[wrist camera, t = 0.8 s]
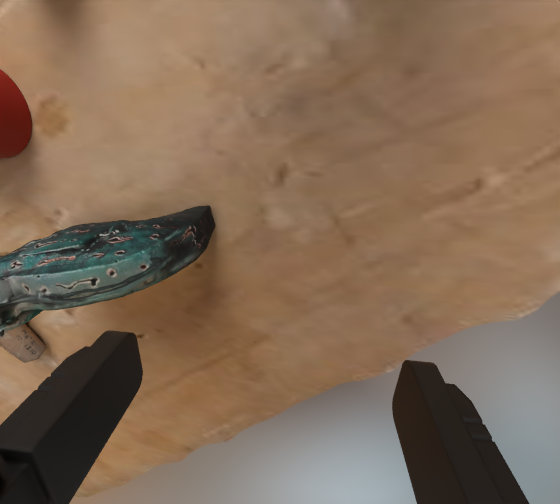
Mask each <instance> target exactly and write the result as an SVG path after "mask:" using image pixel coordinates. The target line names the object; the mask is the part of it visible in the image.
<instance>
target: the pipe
mask: <svg viewBox="0 0 560 504" xmlns="http://www.w3.org/2000/svg"><path fill="white" fill-rule="evenodd" d="M0 257H2V256H0ZM0 346H2V347H3V348H4V349H5V350H7V351H8V352H9V353H11V354H12V355H14V356H15V357H17V358H18V359H20V360H21V361H23V362H24V363H25V362H29V361H33V360H36V359H38V358H39V357H40V356H41V355H42V353H43V352H44V351H45V349H46V347H45V345H44V343H43V342H41V340H40V339H39V338H38V337H37V336H36V334H35V333H34V332H33V331H32V330H31V329H30V328H29V327H28V326H27V325H26V324H23V325H21V326H18V327H16V328H13V329H11V330H8V331H5V332H4V335H3V337H2V338H1V337H0Z"/></svg>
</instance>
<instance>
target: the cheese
mask: <svg viewBox="0 0 560 504" xmlns="http://www.w3.org/2000/svg"><path fill="white" fill-rule="evenodd" d="M31 129H32V124H31V116H30V112H29V109H28V106H27V103H26V101H25V99H24V97H23V95H22V93H21V92H20V90H19V89H18V87H17V86H16V84H15V83H14V82H13V81H12V80H11V79H10V78H9V76H8V75H6V74H5V73H4V72H3V71H2V70H0V159H2V158H9V157H13V156H15V155H17V154H19V153H20V152H22V151H23V150H24V148H25V147H26V146H27V144H28V142H29V140H30V136H31Z"/></svg>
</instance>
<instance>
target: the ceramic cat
mask: <svg viewBox="0 0 560 504" xmlns="http://www.w3.org/2000/svg"><path fill="white" fill-rule="evenodd" d="M214 229H215V222H214V219H213V216H212V213H211V208H210V206H198V207H194V208H191V209H187V210H184V211H182V212H178V213H174V214H171V215H167V216H163V217H159V218H152V219H148V220H140V221H126V220H119V221H112V222H103V223H91V224H81V225H76V226H72V227H69V228H66V229H64V230H60V231H57V232H55V233H54V234H52V235H51V236H49V237H46V238H43V239H39V240H33V241H30V242H29V243H27V244H25V245H24V246H22V247H20V248H19V249H17V250H15V251H13V252H11V253H9V254H7V255H5V256H3V257H0V337H1V338H2V337H3V335H4V332H5V331H8V330H11V329H13V328H16V327H18V326H21V325H23V324H25V323H26V322H28V321H30V320H31V319H32V318H33V317H35V316H36V315H38V314H39V313H40V312H41V311H43V310H59V309H66V308H73V307H79V306H84V305H89V304H93V303H97V302H101V301H108V300H112V299H116V298H120V297H123V296H126V295H129V294H132V293H134V292H137V291H140V290H143V289H145V288H147V287H149V286H152V285H154V284H156V283H158V282H160V281H162V280H164V279H166V278H168V277H170V276H172V275H174V274H176V273H177V272H179V271H180V270H181V269H183V268H185V267H187V266H188V265H190V264H191V263H193V262H194V261H195V260H197V259H198V257H199V256H200V255H201V254H202V253H203V252H204V251H205V250H206V248H207V246H208V244H209V240H210V238H211V235H212V232H213V231H214Z"/></svg>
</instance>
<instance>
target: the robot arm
mask: <svg viewBox="0 0 560 504" xmlns="http://www.w3.org/2000/svg"><path fill="white" fill-rule="evenodd" d="M142 376H143V370H142V364H141V359H140V353H139V348H138V342H137V338H136V335H135V334H134V333H129V332H119V331H106V332H104V333H103V334H102V335H101V336H100V337H99V338H98V339H97V340H96V341H95V342H94V344H93V345H92V346H91V347H86V346H85V347H84V348H82V349H81V350H79V351H77V352H76V353H74V354H73V355H71V356H69V357H68V358H66V359H65V360H64V361H63V362H62V363H61V364H60V365H59V366H58V367H57V368H56V369H55V370H54V371H53V372H52V373H51V376H50V377H47V378H46V379H45V380H44V382H43V383H42V384H41V385H40V386H39V387H38V390H35V391H34V392H33V393H32V394H31V395H30V396H29V397H28V398H27V399H26V400H25V401H24V402H23V403H22V404H21V405H20V406H19V407H18V408H17V409H16V410H15V411H14V412H13V413H12V414H11V415H10V416H9V417H8V418H7V419H6V420H5V421H4V422H3V423H2V424H1V425H0V504H69V503H70V501H71V499H72V498H73V496H74V495H75V493H76V491H77V490H78V488H79V487H80V485H81V483H82V482H83V480H84V478H85V477H86V475H87V474H88V472H89V470H90V469H91V467H92V465H93V464H94V462H95V460H96V459H97V457H98V456H99V454H100V452H101V451H102V449H103V447H104V446H105V444H106V442H107V441H108V439H109V438H110V436H111V434H112V433H113V431H114V429H115V428H116V426H117V425H118V423H119V421H120V420H121V418H122V416H123V415H124V413H125V411H126V410H127V408H128V407H129V405H130V403H131V402H132V400H133V398H134V397H135V395H136V393H137V392H138V390H139V387H140V385H141V381H142ZM392 410H393V418H394V422H395V426H396V430H397V433H398V436H399V440H400V444H401V447H402V451H403V455H404V458H405V462H406V465H407V469H408V473H409V476H410V480H411V483H412V487H413V491H414V494H415V498H416V501H417V504H529V502H528V500H527V499H526V497H525V495H524V494H523V492H522V490H521V488H520V486H519V485H518V483H517V481H516V479H515V478H514V476H513V474H512V472H511V471H510V469H509V467H508V465H507V463H506V462H505V460H504V458H503V456H502V455H501V453H500V451H499V449H498V447H497V446H496V444H495V442H493V441H492V437H491V435H490V433H489V432H488V430H487V428H486V426H485V425H483V424H482V419H481V417H480V416H479V414H478V412H477V410H476V409H475V407H474V405H473V403H472V402H471V400H470V399H469V398H468V397H467V396H466V395H465V394H464V393H463V392H462V391H461V390H460V389H459V388H458V387H457V386H456V385H454V384H446V383H445V382H444V380H443V378H442V376H441V374H440V372H439V370H438V368H437V366H436V365H435V364H434V363H431V362H421V361H410V360H405V361H404V362H403V364H402V368H401V371H400V375H399V378H398V383H397V385H396V389H395V393H394V396H393V403H392Z"/></svg>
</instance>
